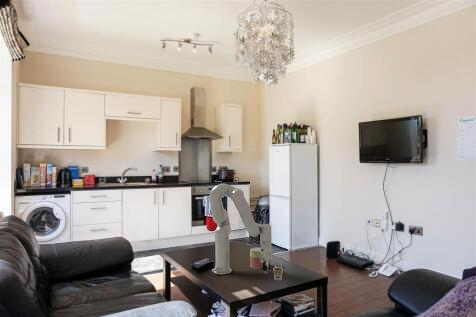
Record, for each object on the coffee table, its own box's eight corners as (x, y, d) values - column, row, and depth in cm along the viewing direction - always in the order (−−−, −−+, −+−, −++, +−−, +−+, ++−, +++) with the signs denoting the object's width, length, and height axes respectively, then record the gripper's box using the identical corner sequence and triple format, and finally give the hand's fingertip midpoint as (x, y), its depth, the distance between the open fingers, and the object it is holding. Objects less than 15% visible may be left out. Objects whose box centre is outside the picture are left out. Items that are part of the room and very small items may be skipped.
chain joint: (283, 280, 203) (283, 276, 203) (272, 280, 204) (272, 276, 204) (283, 267, 230) (282, 263, 230) (273, 266, 231) (273, 263, 231)
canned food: (264, 269, 226) (264, 251, 226) (248, 268, 228) (248, 251, 228) (266, 264, 237) (266, 247, 237) (251, 263, 239) (251, 247, 239)
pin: (267, 274, 215) (267, 259, 215) (262, 273, 217) (262, 258, 217) (270, 272, 218) (269, 257, 218) (265, 271, 220) (264, 257, 220)
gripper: (265, 246, 209) (265, 274, 209) (276, 240, 223) (276, 267, 222) (255, 244, 213) (255, 272, 213) (266, 239, 227) (266, 265, 226)
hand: (266, 269), depth 218 cm, fingers closed on pin, 3 cm apart
